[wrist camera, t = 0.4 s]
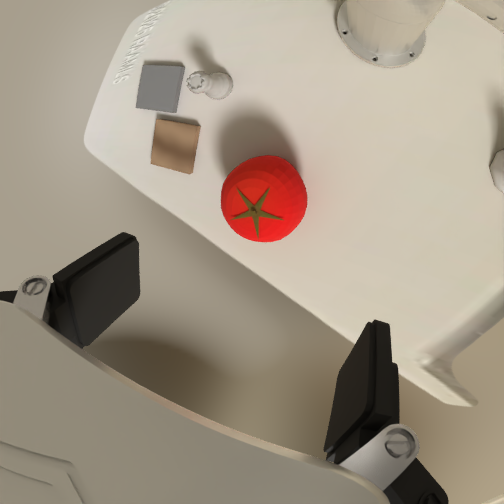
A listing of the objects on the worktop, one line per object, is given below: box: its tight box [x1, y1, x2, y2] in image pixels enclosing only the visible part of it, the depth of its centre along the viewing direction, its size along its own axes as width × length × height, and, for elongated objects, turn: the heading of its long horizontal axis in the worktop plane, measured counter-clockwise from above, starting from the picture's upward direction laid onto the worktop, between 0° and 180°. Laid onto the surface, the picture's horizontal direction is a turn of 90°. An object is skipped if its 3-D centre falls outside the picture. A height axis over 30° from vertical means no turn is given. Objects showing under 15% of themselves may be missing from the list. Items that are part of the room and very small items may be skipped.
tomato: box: [221, 155, 307, 242], centre depth 40 cm, size 12×12×10 cm
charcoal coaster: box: [136, 65, 185, 113], centre depth 42 cm, size 8×8×1 cm
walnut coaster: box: [151, 119, 201, 174], centre depth 45 cm, size 8×8×1 cm
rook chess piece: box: [187, 71, 233, 100], centre depth 36 cm, size 4×4×8 cm
